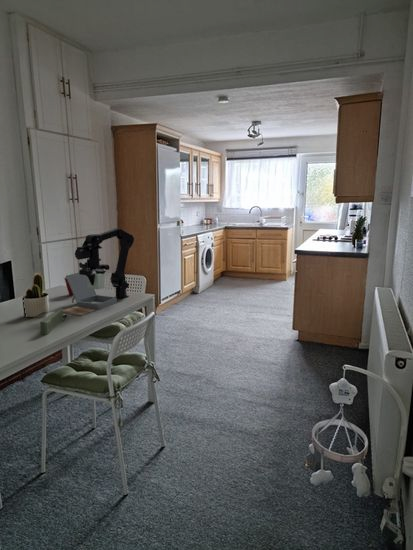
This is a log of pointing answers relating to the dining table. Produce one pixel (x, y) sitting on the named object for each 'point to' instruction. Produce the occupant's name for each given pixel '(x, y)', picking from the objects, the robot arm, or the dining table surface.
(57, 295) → the dining table surface
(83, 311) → the board
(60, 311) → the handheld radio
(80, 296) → the equipment case
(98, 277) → the block
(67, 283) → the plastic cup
